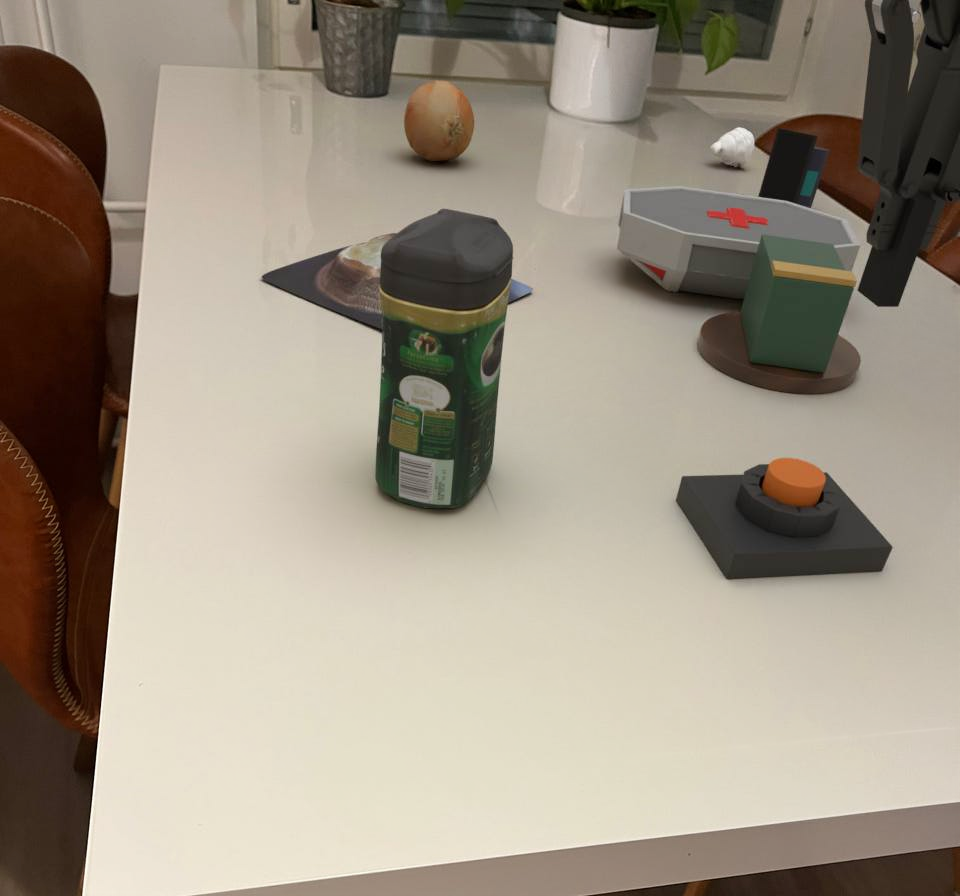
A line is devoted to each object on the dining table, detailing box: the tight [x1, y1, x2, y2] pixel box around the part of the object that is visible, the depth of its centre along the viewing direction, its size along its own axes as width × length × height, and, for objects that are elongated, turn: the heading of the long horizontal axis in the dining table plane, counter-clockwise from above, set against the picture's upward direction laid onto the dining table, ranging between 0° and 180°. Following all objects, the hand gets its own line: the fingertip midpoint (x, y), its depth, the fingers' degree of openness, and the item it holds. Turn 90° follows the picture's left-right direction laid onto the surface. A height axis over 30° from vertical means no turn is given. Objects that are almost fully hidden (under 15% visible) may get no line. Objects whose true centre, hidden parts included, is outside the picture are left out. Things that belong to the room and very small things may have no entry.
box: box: [739, 235, 858, 373], centre depth 93 cm, size 12×7×9 cm, turn 173°
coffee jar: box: [374, 208, 514, 509], centre depth 68 cm, size 10×8×19 cm
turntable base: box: [696, 311, 862, 395], centre depth 97 cm, size 16×16×2 cm
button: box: [762, 457, 826, 507], centre depth 69 cm, size 4×4×2 cm
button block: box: [675, 463, 894, 581], centre depth 71 cm, size 12×10×4 cm
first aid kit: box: [616, 185, 861, 301], centre depth 109 cm, size 18×8×25 cm
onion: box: [403, 80, 475, 162], centre depth 136 cm, size 10×10×10 cm
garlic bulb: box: [710, 127, 755, 168], centre depth 150 cm, size 6×6×5 cm
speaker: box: [757, 127, 830, 209], centre depth 133 cm, size 8×6×10 cm
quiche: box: [261, 232, 534, 330], centre depth 101 cm, size 21×20×4 cm
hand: (877, 298), depth 64 cm, fingers closed
